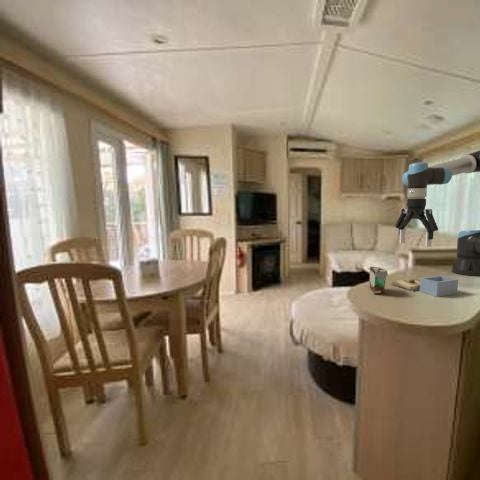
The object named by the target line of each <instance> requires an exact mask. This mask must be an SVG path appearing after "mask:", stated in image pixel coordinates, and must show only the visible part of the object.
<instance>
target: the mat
mask: <svg viewBox="0 0 480 480" xmlns="http://www.w3.org/2000/svg"><path fill="white" fill-rule="evenodd" d="M390 284H391V286H395V287H397V285H394V284H392V282H391V283H390ZM398 288H402V289H403V290H407V288H404V287H400V286H398ZM408 291H411V292H417V291H420V288H417V289H408Z"/></svg>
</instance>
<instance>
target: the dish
mask: <svg viewBox="0 0 480 480" xmlns="http://www.w3.org/2000/svg"><path fill="white" fill-rule="evenodd" d="M419 280H420V290H419V293H422V294H426V295H430V296H432V297H435V298H436V297H437V298H438V297H445V296H450V295H455V294H458V286H459V285H458V284H459V279H457V278H454V277H448V276H444V275H435V276H426V277H420V278H419Z"/></svg>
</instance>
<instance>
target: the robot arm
mask: <svg viewBox="0 0 480 480" xmlns="http://www.w3.org/2000/svg"><path fill="white" fill-rule="evenodd" d="M479 172H480V149H479V150H477V151H474V152H471V153H468V154H464V155H462V156H461V157H459V158H457V159H453V160H449V161H444V162H441V163H438V164H434V165H429V163H427V162H413V163H410V164H409V165H408V170H407V171H405V172H404V173H403V175H402V178H401V181H402V183H403V185H404V186H407V198H408V199H407V200H406V206H407V207H406V208H402V209H401V212H400V216H399V217H398V220H397V222H396V224H395V226H394V227H395V228H396V229H398V237H399V244H406V232H407V231H406V227H407V226H408V224H409V223H410V222H411V221H412V220H413V219H414V220H419V221H420V222H421V224H422V225H423V226H424V228H425V229H426V232H425V242H424V243H425V246H424V248H429V247H431V248H432V241H433V239H434V232H438V231H439V228H438V225H437V223H436V220H435V218H434V215H433V210H432V208H428V209H427V208H426V207H427V195H428V193H427V192H428V191H427V190H428V189H427V188H428V186H432V185H447V184H448V183H450V181H451V180H452V178H453V176H456V175H460V174H472V173H479ZM456 243H457V245H456V258H455V260H454V262H453V265H452V266H451V272H452V273H454V274H457V275H462V276H470V277H471V276H473V277H475V276H476V277H480V229H478V230H477V229H475V230H460V231H459V232H458V236H457V242H456Z"/></svg>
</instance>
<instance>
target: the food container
mask: <svg viewBox="0 0 480 480" xmlns="http://www.w3.org/2000/svg"><path fill="white" fill-rule="evenodd" d="M388 276H389V273H388V270H387V269H386V268H384V267H379V266H369V290H370V291H371V293H372V295H374V296H378V295H379V296H381V295H383V294H384V293H385V287H386V280H387V277H388Z"/></svg>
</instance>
